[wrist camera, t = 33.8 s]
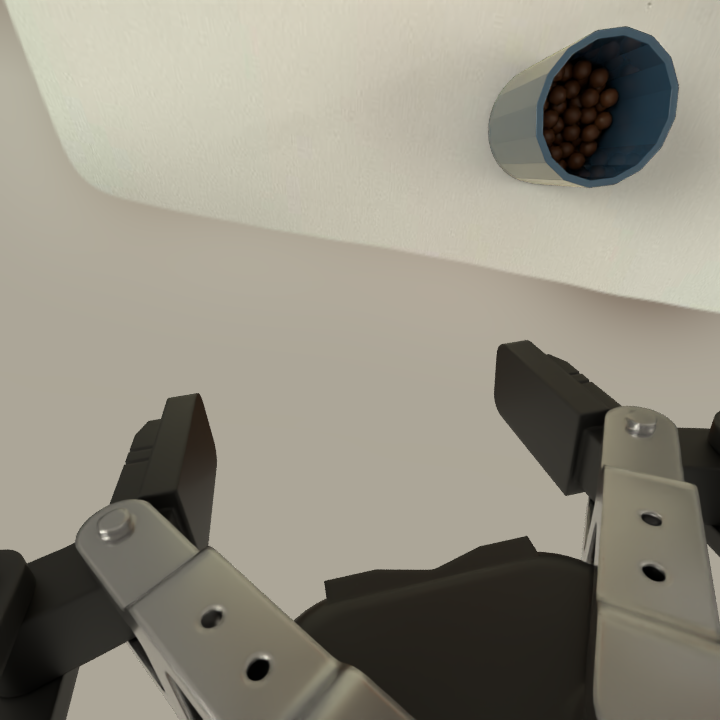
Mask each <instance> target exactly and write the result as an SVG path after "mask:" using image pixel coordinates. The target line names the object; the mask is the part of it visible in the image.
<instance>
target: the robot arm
mask: <svg viewBox="0 0 720 720" xmlns="http://www.w3.org/2000/svg"><path fill="white" fill-rule="evenodd" d="M494 398H495V404H496V407H497V410H498V411H499V413H500V415H501V416H502V417H503V419H504V420H505V421H506V423H507V424H508V425H509V426H510V428H511V429H512V430H513V431H514V432H515V434H516V435H517V436H518V437H519V439H520V440H521V441H522V442H523V444H524V445H525V446H526V447H527V449H528V450H529V451H530V452H531V454H532V455H533V456H534V457H535V459H536V460H537V461H538V462H539V464H540V465H541V466H542V467H543V468H544V470H545V471H546V472H547V473H548V475H549V476H550V477H551V478H552V480H553V481H554V482H555V483H556V485H557V486H558V487H559V488H560V490H561V491H562V492H563V493H564V495H565V496H567V495H573V494H577V493H582V492H586V494H587V495H588V496H589V498H588V503H587V508H586V518H585V528H584V537H583V548H582V557H581V560H579V559H575V558H572V557H569V556H565V555H560V554H555V553H546V552H537V551H536V549H535V547H534V546H533V544H532V543H531V541H530V540H529V538H528V537H527V536H525V537H520V538H516V539H512V540H507V541H502V542H498V543H493V544H489V545H484V546H480V547H478V548H476V549H474V550H472V551H470V552H468V553H466V554H464V555H462V556H460V557H458V558H456V559H454V560H452V561H450V562H448V563H446V564H444V565H442V566H440V567H438V568H436V569H432V570H372V571H367V572H363V573H359V574H354V575H349V576H345V577H340V578H336V579H332V580H327V581H324V583H325V590H326V597H327V598H326V599H324V600H322V601H321V602H319V603H317V604H315V605H314V606H312V607H310V608H309V609H307V610H306V611H305V612H303V613H302V614H301V615H300V616H299V617H297V618H296V619H295V620H294V621H293V620H292V619H291V618H290V617H289V616H288V615H287V614H286V613H284V612H283V611H282V610H281V609H280V608H279V607H278V606H277V605H276V604H275V603H273V602H272V601H271V600H270V599H269V598H268V597H267V596H266V595H265V594H264V593H262V592H261V591H260V590H259V589H258V588H257V587H256V586H255V585H254V584H253V583H252V582H251V581H249V580H248V579H247V578H246V577H245V576H244V575H243V574H242V573H241V572H240V571H239V570H237V569H236V568H235V567H234V566H233V565H232V564H231V563H230V562H229V561H227V560H226V559H225V558H224V557H223V556H222V555H221V554H220V553H219V552H218V551H216V550H215V549H214V548H212V547H210V546H208V541H209V532H210V523H211V513H212V504H213V495H214V486H215V477H216V468H217V457H216V449H215V444H214V440H213V436H212V433H211V429H210V426H209V422H208V419H207V415H206V411H205V408H204V404H203V401H202V398H201V396H200V394H199V393H196V394H190V395H184V396H178V397H172V398H168V399H167V401H166V405H165V408H164V411H163V414H162V418H161V419H158V420H153V421H148V422H147V423H146V424H145V425H144V426H143V428H142V429H141V430H140V431H139V432H138V433H137V434H136V435H135V437H134V440H133V442H132V445H131V448H130V452H129V453H128V456H127V459H126V461H125V462H126V465H124V467H123V470H122V472H121V475H120V478H119V481H118V483H117V486H116V488H115V491H114V494H113V496H112V499H111V502H110V505H108V506H106V507H105V508H103V509H101V510H99V511H98V512H96V513H95V514H94V515H92V516H91V517H90V518H89V519H88V520H87V521H86V522H85V523H84V524H83V525H82V527H81V528H80V530H79V531H78V533H77V536H76V540H75V543H73V544H71V545H69V546H67V547H65V548H63V549H61V550H58V551H56V552H53V553H51V554H49V555H46V556H44V557H42V558H39V559H37V560H35V561H33V562H30V563H26V562H25V560H24V558H23V557H22V555H21V554H20V553H18V552H16V551H14V550H0V720H66V717H67V713H68V709H69V705H70V701H71V698H72V693H73V689H74V686H75V682H76V678H77V674H78V670H79V666H81V665H83V664H85V663H87V662H89V661H90V660H93V659H95V658H96V657H98V656H100V655H102V654H104V653H106V652H108V651H110V650H112V649H114V648H115V647H118V646H119V645H121V644H123V643H125V642H126V643H127V645H128V646H129V647H130V649H131V650H132V652H133V653H134V654H135V656H136V657H137V659H138V660H139V662H140V663H141V664H142V666H143V667H144V668H145V670H146V672H147V673H148V674H149V676H150V677H151V679H152V680H153V681H154V683H155V684H156V686H157V687H158V689H159V690H160V691H161V693H162V694H163V696H164V697H165V699H166V700H167V701H168V703H169V704H170V706H171V707H172V709H173V710H174V712H175V714H176V715H177V717H178V718H179V720H720V622H719V616H718V610H717V603H716V597H715V591H714V585H713V579H712V573H711V567H710V561H709V554H708V549H707V544H708V545H709V546H710V547H711V548H712V549H713V550H714V551H715V553H716V554H717V555H718V556H719V557H720V411H719V412H718V413H717V414H716V415H715V417H714V420H713V422H712V426H711V428H710V429H704V428H677V427H676V425H675V424H674V423H673V422H672V421H671V420H670V419H669V418H668V417H666V416H664V415H663V414H661V413H658V412H656V411H654V410H651V409H647V408H642V407H637V406H621V405H620V404H619V403H617V402H616V401H615V400H614V399H612V398H611V397H610V396H609V395H607V394H606V393H605V392H603V391H602V390H601V389H600V388H599V387H597V386H596V385H595V384H594V383H592V382H589V379H588V378H586V377H585V376H584V375H583V374H579V371H577V370H576V369H575V368H574V367H573V366H571V365H570V364H569V363H568V362H566V361H564V360H561V359H559V358H556V357H554V356H552V355H549V354H547V355H546V354H544V353H543V352H542V351H541V350H540V349H539V348H537V347H536V346H535V345H534V344H533V343H532V342H530V341H528V340H525V341H519V342H512V343H507V344H501V345H500V346H499V347H498V350H497V358H496V373H495V387H494Z"/></svg>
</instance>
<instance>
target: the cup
mask: <svg viewBox="0 0 720 720" xmlns="http://www.w3.org/2000/svg"><path fill="white" fill-rule="evenodd" d="M583 59H585V60H589V61H590V63H591V64H592V71H593V70H595V69H596V68H599V67H603V68H606V69H607V71H608V72H609V78H608V80H607V82H606V87H605V89H608V88H614V89H616V90H617V92H618V100H617V102H616V103H615V104H614V105H613V106H611V107H609V108H607V109H606V110H604V111H603V112H609V113H610V114H611V115H612V123H611V125H610V126H609V127H608V128H607V129H604V130H602V134H601V137H599V138H598V139H597V140H595V141H596V143H597V149H596V152H595V153H594V154H593V155H591V156H588V157H586V156H584V157H585V163H584V166H583V167H582V168H580V169H578V170H576V171H575V170H571V169H570V168H569V167H568V168H567V171H565V170H564V169H563V168H562V167H561V166H560V165H559V164H558V163H557V162H556V161H555V160H554V159H553V158H552V157H551V154H550V151H549V149H548V146H547V143H546V141H545V138H544V135H543V106H544V103H545V100H546V98H547V95H548V92H549V90H550V87H551V84H552V82H553V79H554V77H555V76H556V75H557V73H558V72H559V71H560V70H561V68H562V67H563V66H564V65H565V63H566V62H571V63H572V64H573V66H574V65H575V64H576V63H577V62H578V61H580V60H583ZM678 86H679V85H678V81H677V77H676V73H675V69H674V66H673V62H672V58H671V56H670V55H669V54H668V53H667V52H666V51H665V49H664V48H663V47H662V46H661V45H660V44H659V42H658V41H657V40H656V39H655V38H654V37H653V36H652V35H649V34H646V33H644V32H641V31H638V30H635V29H633V28H630V27H626V26H624V27H617V28H610V29H602V30H597V31H595V32H593V33H591V34H589V35H587V36H585V37H584V38H582V39H580V40H578V41H576V42H574V43H573V44H571V45H569V46H567V47H565V48H563V49H562V50H560V51H558V52H556V53H554V54H553V55H551V56H549V57H547V58H545V59H543V60H542V61H540V62H538V63H536V64H534V65H533V66H531V67H529V68H528V69H526V70H524V71H523V72H521V73H519V74H518V75H516V76H515V77H513V79H512V80H511V81H510V82H509V83H508V84H507V85H506V86H505V87H504V88H503V90H502V91H501V93H500V94H499V96H498V98H497V99H496V101H495V103H494V106H493V108H492V112H491V115H490V120H489V130H488V135H489V143H490V148H491V151H492V154H493V156H494V158H495V160H496V162H497V163H498V164H499V166H500V167H501V168H502V169H503V170H504V171H505V172H506V173H507V174H509V175H510V176H512V177H513V178H515V179H518V180H520V181H524V182H529V183H532V184H543V185H557V186H570V187H584V188H592V187H600V186H607V185H614V184H617V183H618V182H620V181H622V180H624V179H626V178H627V177H629V176H631V175H633V174H635V173H637V172H638V171H640V170H641V169H642V168H643V167H644V166H645V165H646V164H647V163H648V162H649V160H650V159H651V158H652V157H653V156H654V155H655V154H656V153H657V152H658V151H659V150H660V148H661V147H662V146H663V143H664V141H665V139H666V137H667V135H668V133H669V130H670V128H671V126H672V124H673V122H674V120H675V117H676V108H677V99H678V90H679V87H678ZM590 124H592V123H590ZM590 124H588V125H590ZM564 142H565V141H564ZM580 145H581V144H580ZM580 145H578V150H577V151H579V152H580V150H579V148H580ZM556 146H558V145H556Z"/></svg>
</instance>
